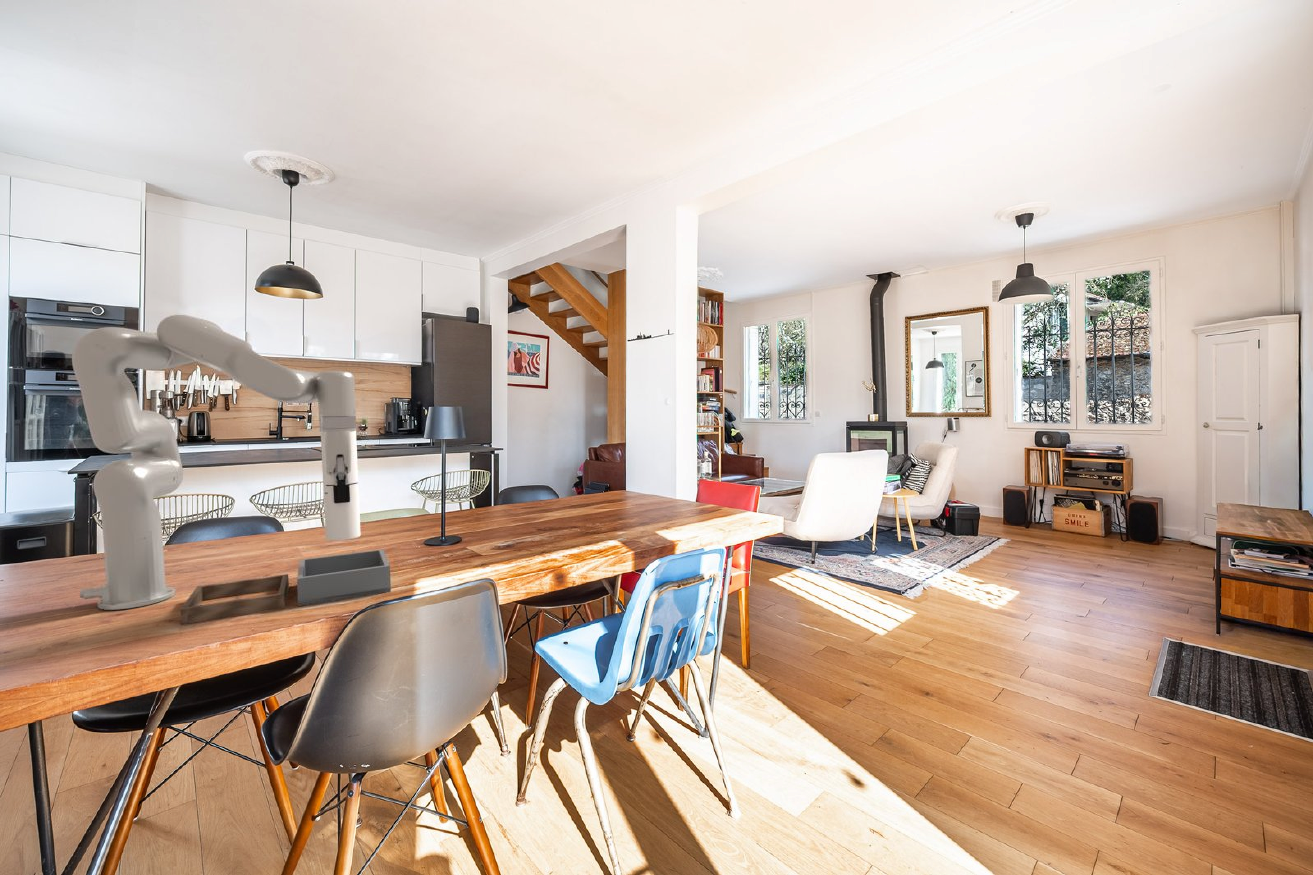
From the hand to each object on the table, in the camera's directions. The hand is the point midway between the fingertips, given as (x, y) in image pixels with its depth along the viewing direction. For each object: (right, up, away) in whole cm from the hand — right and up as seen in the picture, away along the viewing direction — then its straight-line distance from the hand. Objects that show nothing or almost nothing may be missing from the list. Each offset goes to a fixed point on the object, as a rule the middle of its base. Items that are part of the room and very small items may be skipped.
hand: (341, 499), depth 131 cm
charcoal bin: (0, -21, +1) cm, 21 cm away
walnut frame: (-17, -22, -9) cm, 29 cm away
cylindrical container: (0, -9, 0) cm, 9 cm away
